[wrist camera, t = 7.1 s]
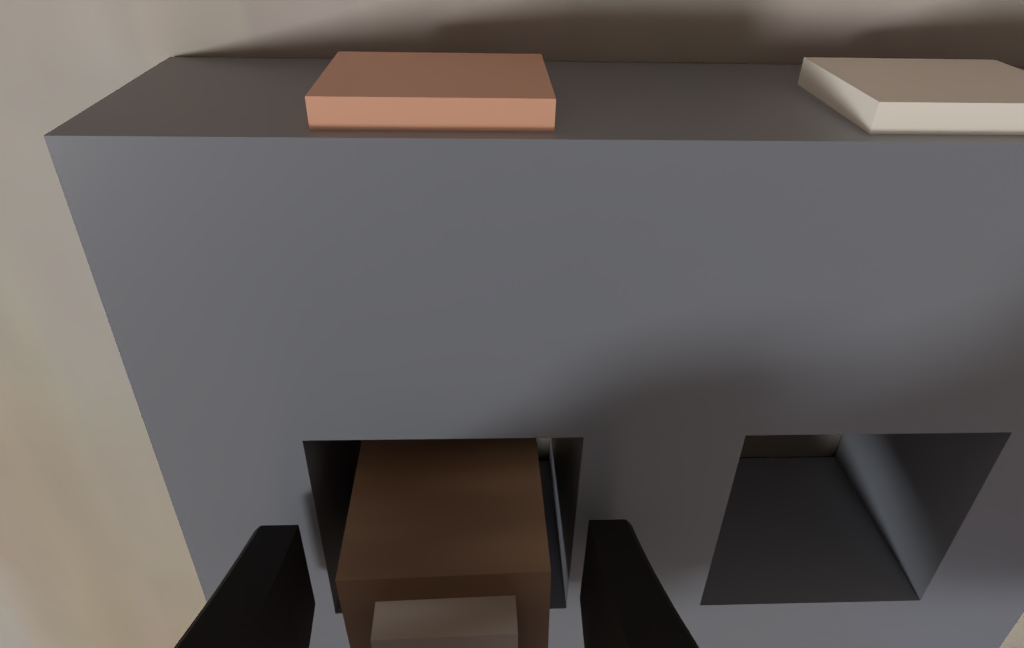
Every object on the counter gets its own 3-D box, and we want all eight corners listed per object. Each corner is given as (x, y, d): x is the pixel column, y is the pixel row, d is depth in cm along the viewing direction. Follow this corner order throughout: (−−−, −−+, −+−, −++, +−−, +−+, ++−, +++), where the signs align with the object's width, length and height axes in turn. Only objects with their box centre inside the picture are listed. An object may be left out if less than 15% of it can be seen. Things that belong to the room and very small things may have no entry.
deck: (1118, 44, 12) (1365, 113, 9) (867, 580, 20) (946, 725, 17) (163, 30, 11) (31, 100, 8) (296, 592, 19) (257, 745, 16)
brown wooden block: (524, 332, 15) (555, 609, 9) (523, 438, 16) (549, 727, 11) (381, 337, 15) (327, 619, 9) (394, 443, 16) (356, 738, 11)
